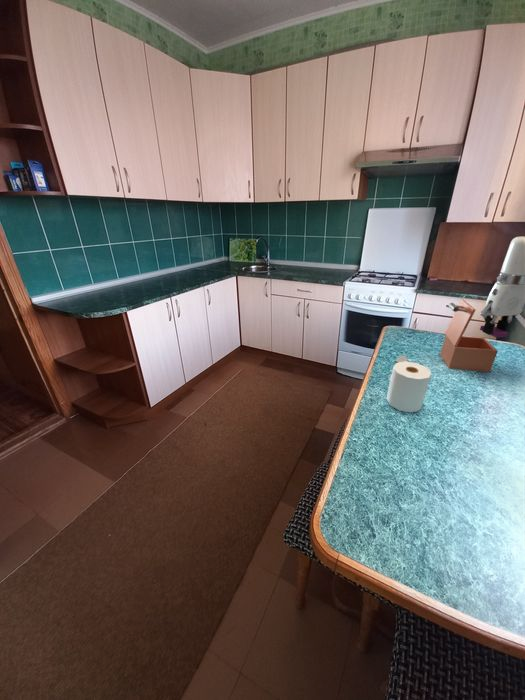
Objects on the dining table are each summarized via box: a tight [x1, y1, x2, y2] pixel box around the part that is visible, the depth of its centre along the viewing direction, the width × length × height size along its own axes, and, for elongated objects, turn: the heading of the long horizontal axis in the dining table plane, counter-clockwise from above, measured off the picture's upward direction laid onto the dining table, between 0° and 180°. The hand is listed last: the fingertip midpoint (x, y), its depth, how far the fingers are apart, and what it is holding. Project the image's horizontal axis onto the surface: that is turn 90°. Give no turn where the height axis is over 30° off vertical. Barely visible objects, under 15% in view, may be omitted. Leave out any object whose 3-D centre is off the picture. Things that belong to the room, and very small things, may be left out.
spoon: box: [388, 355, 409, 382], centre depth 109 cm, size 4×21×2 cm, turn 145°
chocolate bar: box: [479, 325, 509, 339], centre depth 98 cm, size 7×4×2 cm, turn 7°
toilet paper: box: [386, 361, 432, 414], centre depth 89 cm, size 10×10×12 cm
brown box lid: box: [444, 299, 476, 347], centre depth 108 cm, size 14×12×5 cm
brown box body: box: [439, 335, 499, 373], centre depth 111 cm, size 14×12×9 cm
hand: (493, 332), depth 99 cm, fingers closed on chocolate bar, 4 cm apart
